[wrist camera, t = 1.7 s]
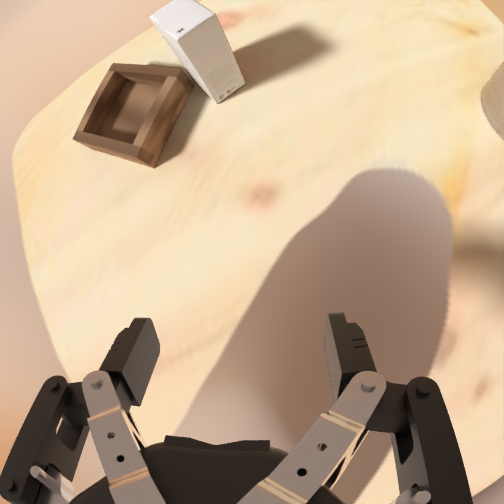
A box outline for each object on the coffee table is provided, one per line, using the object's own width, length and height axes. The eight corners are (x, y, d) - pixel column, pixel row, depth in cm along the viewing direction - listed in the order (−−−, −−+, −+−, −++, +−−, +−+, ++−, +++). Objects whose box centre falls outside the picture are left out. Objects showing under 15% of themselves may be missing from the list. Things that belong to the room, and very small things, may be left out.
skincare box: (247, 83, 31) (217, 13, 20) (217, 105, 32) (175, 41, 20) (217, 57, 32) (183, -8, 20) (190, 77, 33) (146, 17, 21)
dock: (117, 76, 35) (102, 62, 31) (194, 86, 32) (181, 68, 29) (82, 146, 35) (63, 136, 31) (154, 168, 33) (136, 157, 29)
